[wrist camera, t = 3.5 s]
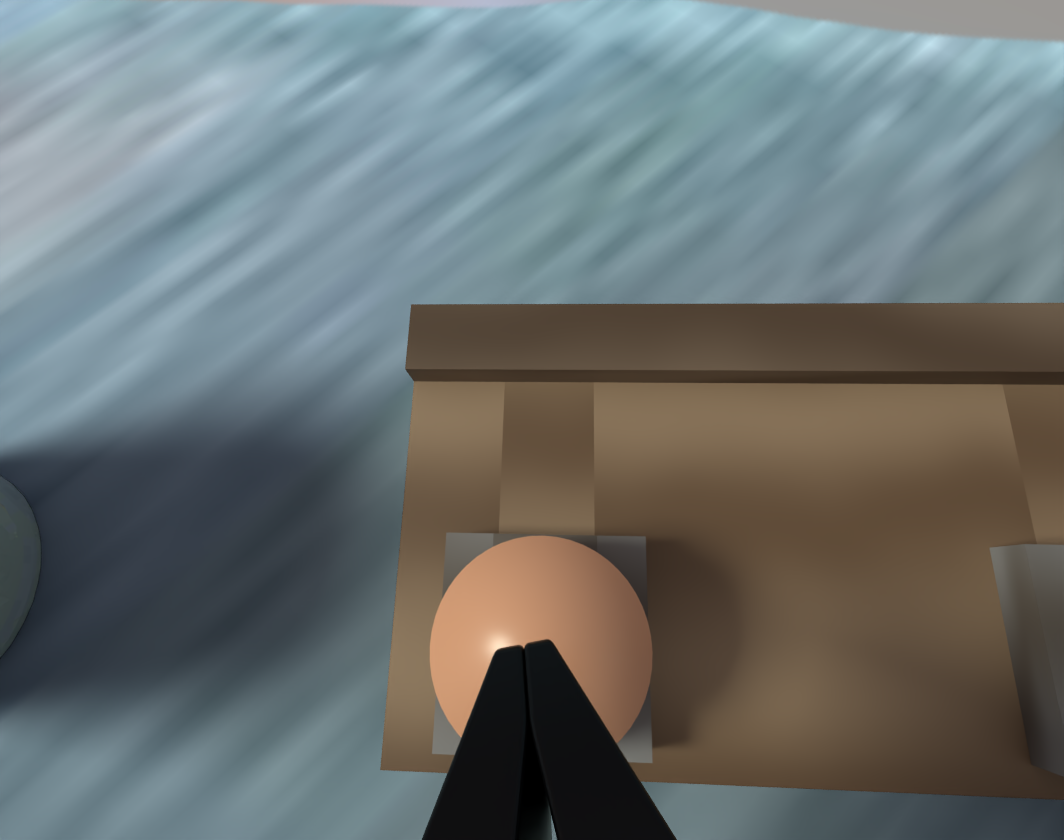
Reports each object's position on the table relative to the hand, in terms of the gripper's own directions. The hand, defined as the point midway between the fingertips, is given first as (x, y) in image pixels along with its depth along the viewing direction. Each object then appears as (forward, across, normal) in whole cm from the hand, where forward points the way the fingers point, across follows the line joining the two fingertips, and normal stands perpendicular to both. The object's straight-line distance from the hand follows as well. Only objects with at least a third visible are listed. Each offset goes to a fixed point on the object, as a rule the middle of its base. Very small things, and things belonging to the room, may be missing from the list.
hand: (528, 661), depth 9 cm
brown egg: (+7, 0, +7) cm, 9 cm away
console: (+8, -7, +6) cm, 13 cm away
